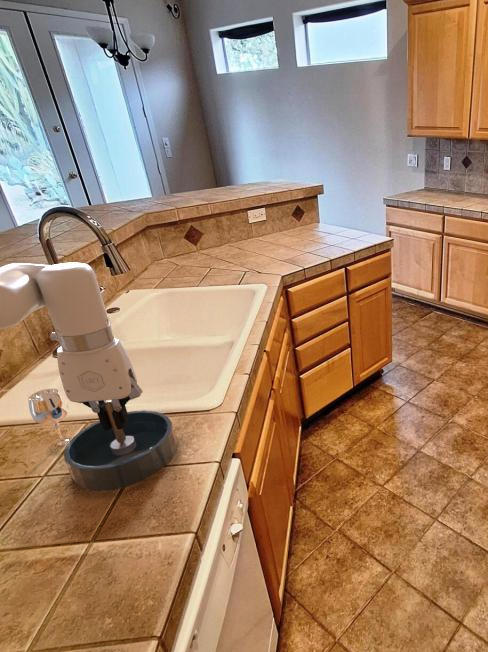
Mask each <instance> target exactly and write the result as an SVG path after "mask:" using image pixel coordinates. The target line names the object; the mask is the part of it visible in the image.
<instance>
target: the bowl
mask: <svg viewBox="0 0 488 652" xmlns="http://www.w3.org/2000/svg"><path fill="white" fill-rule="evenodd" d="M127 413H128V416H129V420H128V421H127V423H126V424H125V425H124V427H123V431H124V434H125V436H132V437H134V439H135V443H136V448H135V449H134V450H133V451H131V452H130V453H128V454H125V455H114V454H113V453H112V450H111V447H110V445H111V443H112V442H113V441H114V440H116V437H115V434H114V431H113V428H112V427H111V428H110V430H107V431H105V430H104V428H103V425H102V424H101V423H100V420H98V421H96V422H94V423H92V424H90V425H88V426H87V427H85V428H83V429H81V430H80V431H79V432H78V433H77V434H76V435H74V436H73V437H72V438H71V440H69V442H68V443H66V446H65V448H64V451H63V459H64V462H65V464H66V466H67V469H68V472H69V474H70V476H71V479H72V481H73V482H74V483H75V484H76V486H78V487H80V488H82V489H84V490H87V491H88V490H89V491H94V492H95V491H98V492H104V491H115V490H117V489H123V488H127V487H129V486H132V485H135V484H137V483H140V482H142V481H144V480H146V479H148V478H150V477H151V476H153V475H155V474H156V473H158V472H159V471H161V470H162V469H163V468H164V467H166V465H168V464H169V462H171V460H172V459H173V457H174V456H175V455H176V452H177V448H178V447H177V446H178V441H177V438H176V437H177V436H176V434H175V429H174V425H173V423H172V421H171V419H170V417H169V416H167V415H166V414H164V413H162V412H159V411H156V410H145V409H144V410H132V411H131V410H130V411H127Z"/></svg>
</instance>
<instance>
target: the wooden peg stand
mask: <svg viewBox="0 0 488 652" xmlns="http://www.w3.org/2000/svg"><path fill="white" fill-rule="evenodd" d="M105 408H106V411H107V414H108V417H109V420H110V422H111V425H112V428H113V431H114V434H115V437H116V440H114V441H113V442H112V443H111V445H110V447H111V450H112V453H113V454H114V455H125V454H128V453H130V452H131V451H133V450H134V449H135V448H136V443H135V439H134V437H132V436H125V434H124V431H123V428H122V429H120V430H118V429H117V427H116V424H115V422H114V419H113V416H112V412H113V410H114V408H113V404H112V401H111V400H107V401H106V403H105Z"/></svg>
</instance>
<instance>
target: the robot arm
mask: <svg viewBox="0 0 488 652" xmlns="http://www.w3.org/2000/svg"><path fill="white" fill-rule="evenodd" d="M44 307H45V308H47V312H48V315H49V318H50V320H51V323H52V326H53V328H54V332H50V334H49V339H50V340H51V341H58V344H59V346H60V347H58V348H57V349H56V360H57V367H58V373H59V377H60V380H61V381H60V382H61V385H62V388H63V391H64V393H65V396H66V398H67V399H68V400H69V401H70V402H72V403H77V404H82V405H84V406H86V407H88V408H90V409H91V411H92V412H93V413H94V414H97V415H96V416H97V418H98V421H100V423H101V424H102V425H103V428H104V430H105V431H107V430H110V428H111V427H112V425H111V422H110V420H109V417H108V414H107V411H106V408H105V403H106V402H107V401H112V404H113V408H114V410H113V412H112V416H113V419H114V422H115V424H116V427H117V429H118V430H120V429H122V428H123V427H124V425H125V424H126V423H127V421H128V420H129V416H128V413H127V412H128V410H127V407H126V405H127V404H128V402H129V401H132V400H135V399H137V398H140V397H141V396H142V394H143V392H144V391H143V389H142V388H141V387H140V385H139V384H138V379H137V375H136V372H135V370H134V366H133V364H132V361H131V359H130V357H129V355H128V352H127V351H126V349H125V348H124V345H123V344H122V342H121V341H120V339H119V338H115V335H114V332H113V331H114V330H113V328H112V325H111V322H110V318H109V315H108V312H107V309H106V306H105V302H104V299H103V295H102V292H101V288H100V285H99V282H98V279H97V276H96V273H95V270H94V269H93V268H92V266H90V265H89V264H86V263H81V262H64V263H57V264H52V265H51V264H37V263H24V262H22V263H21V262H17V263H15V262H14V263H9V264H5V265H3V266H0V330H5V329H6V330H7V329H9V328H12V327H15V326H17V325H18V324H20V323H21V322H23V321H24V320H25V319H26V318H27V317H29V315H31V314H32V313H34V312H36V311H37V310H40V309H41V308H44Z"/></svg>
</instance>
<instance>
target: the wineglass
mask: <svg viewBox="0 0 488 652" xmlns="http://www.w3.org/2000/svg"><path fill="white" fill-rule="evenodd" d="M28 409H29V413H30V416H31V418H32V419H33V421H34V422H35V423H36V424H39V425H42V426H49V425H50V426H51V425H52V427H53V429H54V430H55V432H56V433H57V435H58V437H59V441H58V442H56V445H57V446H64V445H67V444H68V443H69V442H70V440H69V439H68V438H64V437H63V435H62V433H61V426H60V424H59V422H61V421H63V420H64V419H66V417H67V416H68V414H69V405H68V402H67V400H66V398H65V397H64V395H63V394H62V393H61V391H59V389H57V388H45V389H41V390H38V391H35V392H34V393H32V394H31V395H29V396H28Z"/></svg>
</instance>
